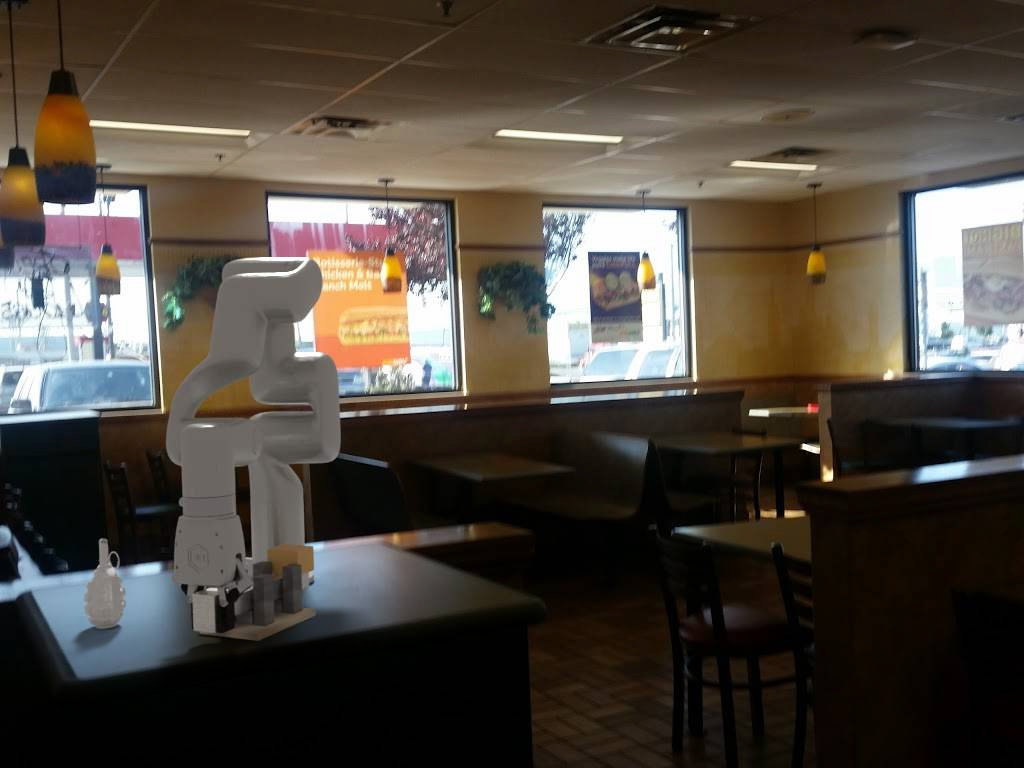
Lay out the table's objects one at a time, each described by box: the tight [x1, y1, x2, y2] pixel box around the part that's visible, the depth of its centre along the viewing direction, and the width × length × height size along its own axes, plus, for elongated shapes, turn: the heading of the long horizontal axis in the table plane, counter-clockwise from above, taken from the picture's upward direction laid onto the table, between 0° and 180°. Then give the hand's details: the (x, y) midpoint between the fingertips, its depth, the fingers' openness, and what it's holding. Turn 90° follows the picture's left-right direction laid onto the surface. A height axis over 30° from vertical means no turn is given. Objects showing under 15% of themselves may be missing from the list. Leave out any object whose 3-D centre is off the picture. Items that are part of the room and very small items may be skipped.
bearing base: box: [199, 561, 317, 642], centre depth 164 cm, size 11×15×8 cm
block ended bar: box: [192, 572, 310, 633], centre depth 164 cm, size 4×24×6 cm, turn 156°
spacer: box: [267, 544, 315, 575], centre depth 172 cm, size 6×4×4 cm
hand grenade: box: [83, 538, 127, 630], centre depth 164 cm, size 8×6×14 cm
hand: (213, 627), depth 154 cm, fingers closed on block ended bar, 4 cm apart
